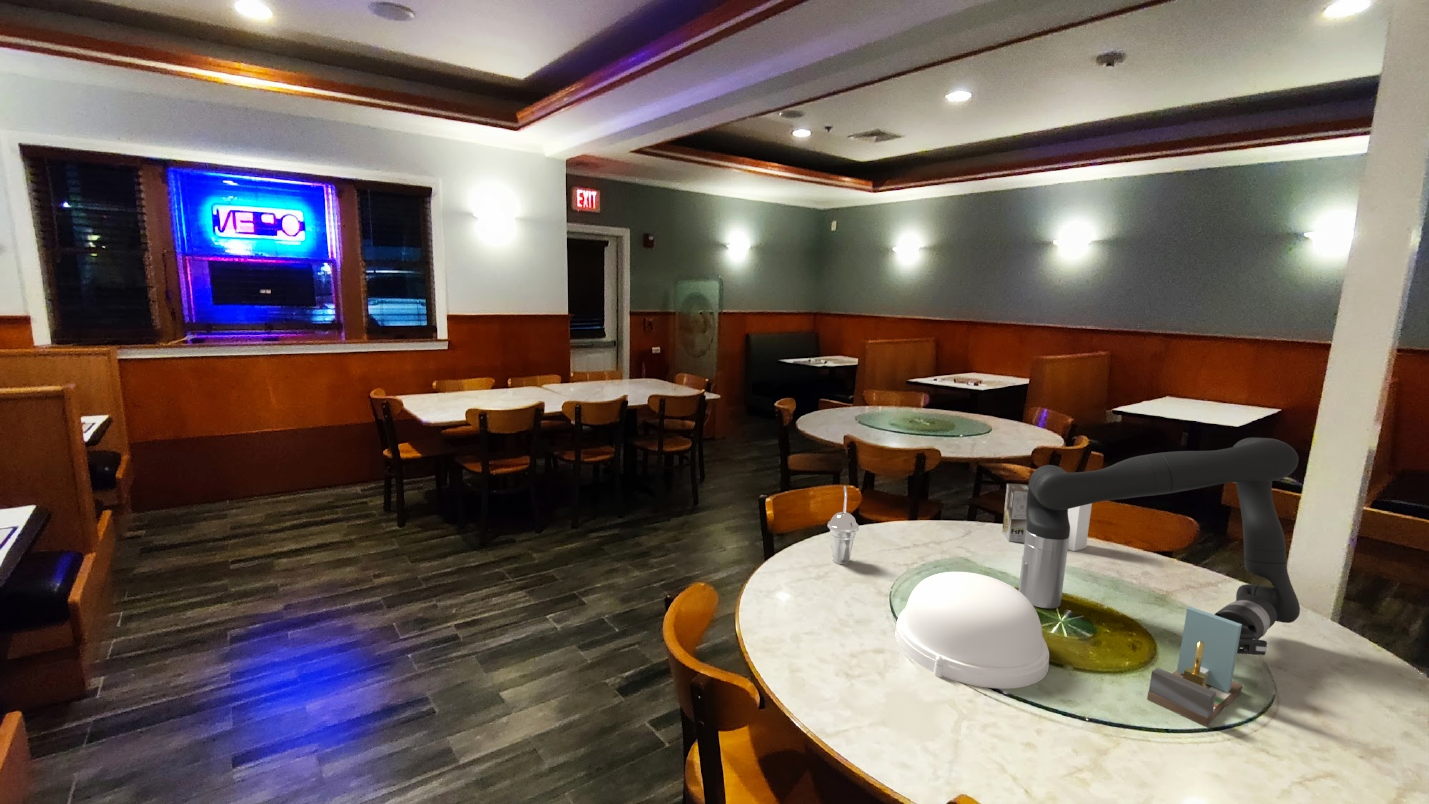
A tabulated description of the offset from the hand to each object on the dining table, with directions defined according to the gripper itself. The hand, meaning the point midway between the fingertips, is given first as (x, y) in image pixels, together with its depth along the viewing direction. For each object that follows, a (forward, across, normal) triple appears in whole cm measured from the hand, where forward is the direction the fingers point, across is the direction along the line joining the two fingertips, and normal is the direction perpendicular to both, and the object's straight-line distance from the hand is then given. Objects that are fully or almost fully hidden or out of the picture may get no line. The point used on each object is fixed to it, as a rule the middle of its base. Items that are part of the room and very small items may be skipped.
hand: (1209, 647), depth 121 cm
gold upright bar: (+6, 0, +6) cm, 8 cm away
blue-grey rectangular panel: (+2, 0, +7) cm, 7 cm away
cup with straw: (+15, -79, +9) cm, 81 cm away
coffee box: (-46, -63, +9) cm, 79 cm away
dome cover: (+25, -34, +9) cm, 43 cm away
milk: (-54, -50, +9) cm, 74 cm away
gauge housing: (+4, 0, +8) cm, 9 cm away
